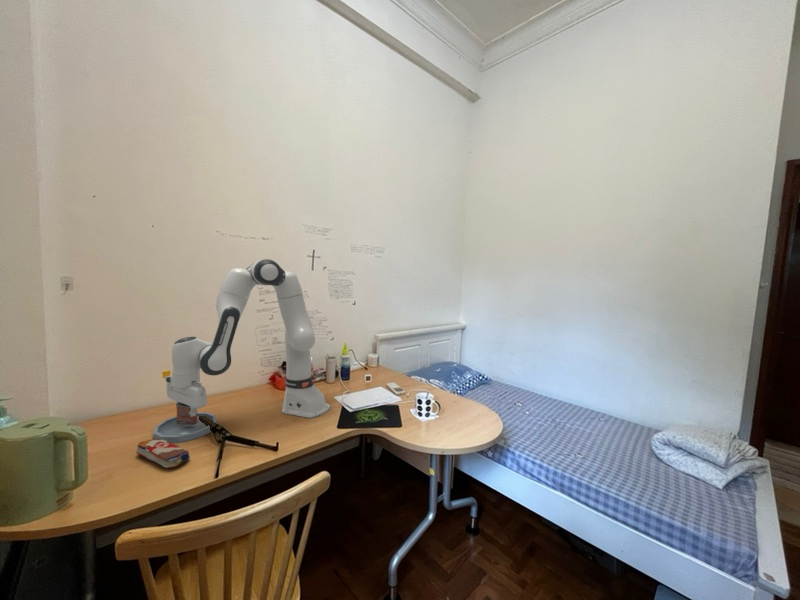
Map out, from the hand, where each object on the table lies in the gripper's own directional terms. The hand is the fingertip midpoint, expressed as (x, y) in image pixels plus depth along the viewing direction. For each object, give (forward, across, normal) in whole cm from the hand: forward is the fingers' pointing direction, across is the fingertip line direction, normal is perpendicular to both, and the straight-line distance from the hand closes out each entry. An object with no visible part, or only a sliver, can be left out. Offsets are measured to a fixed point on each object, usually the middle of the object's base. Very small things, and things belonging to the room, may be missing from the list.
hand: (186, 413), depth 120 cm
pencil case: (+7, -13, +15) cm, 21 cm away
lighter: (+4, 0, 0) cm, 4 cm away
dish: (+6, 0, 0) cm, 6 cm away
